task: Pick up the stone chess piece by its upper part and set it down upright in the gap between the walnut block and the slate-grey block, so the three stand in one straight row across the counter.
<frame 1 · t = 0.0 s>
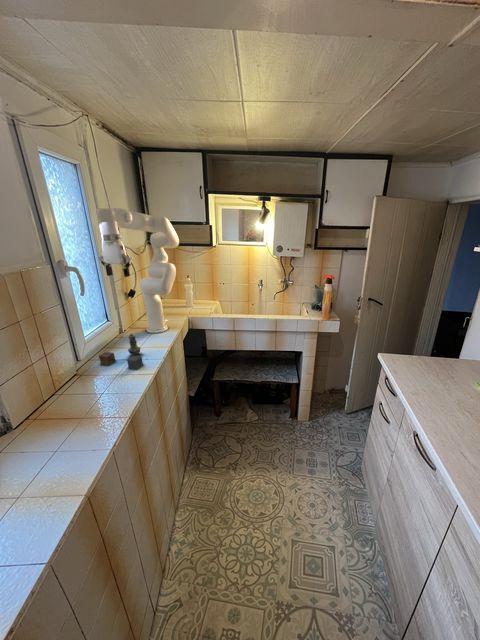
hand: (118, 275, 137), 37 cm above the counter, tool pointing down, fingers open, 9 cm apart
stone chess piece: (135, 355, 141), on the counter
walnut block: (108, 362, 133), on the counter
slate block: (136, 366, 130), on the counter
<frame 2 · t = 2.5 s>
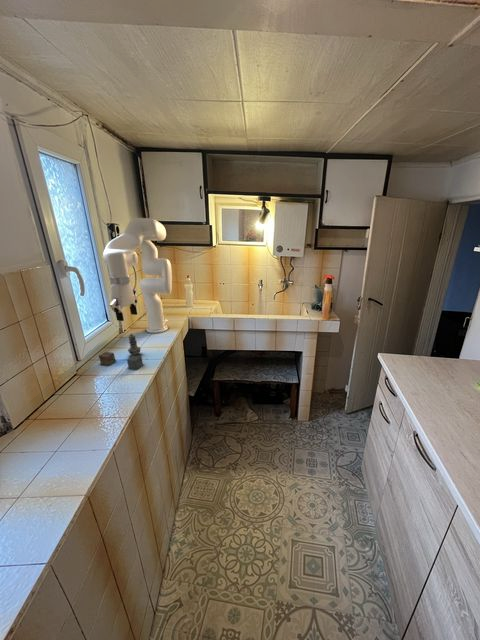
hand: (127, 317, 132), 20 cm above the counter, tool pointing down, fingers open, 9 cm apart
nothing on the counter moved.
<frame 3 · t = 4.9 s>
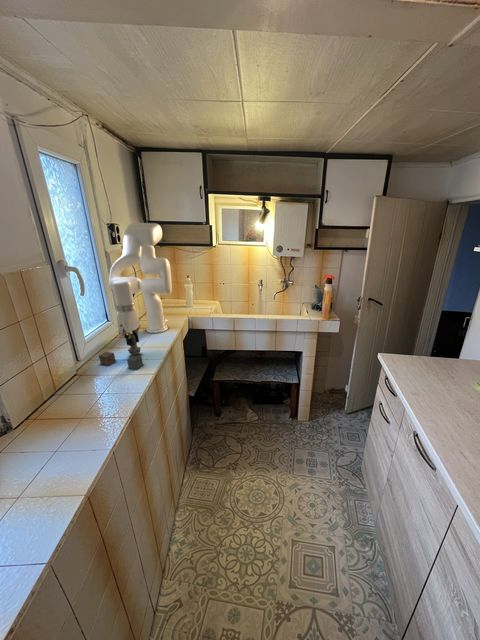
hand: (133, 343, 138), 7 cm above the counter, tool pointing down, fingers closed on stone chess piece, 3 cm apart
stone chess piece: (135, 355, 141), on the counter, touching gripper
everything else where it was.
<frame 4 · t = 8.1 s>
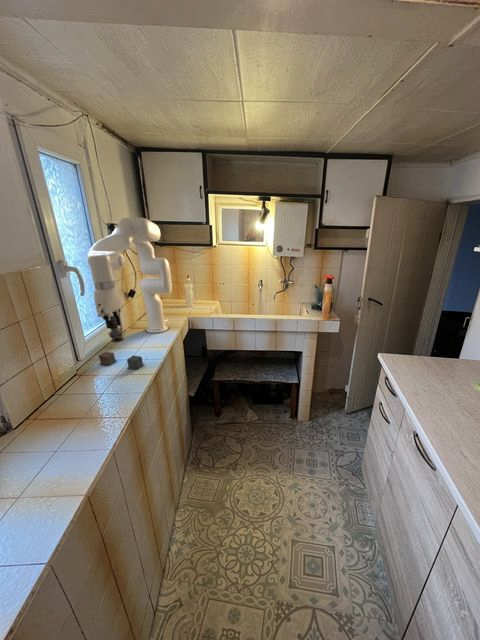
hand: (114, 326, 124), 19 cm above the counter, tool pointing down, fingers closed on stone chess piece, 3 cm apart
stone chess piece: (117, 340, 127), point 12 cm above the counter, touching gripper
everything else where it was.
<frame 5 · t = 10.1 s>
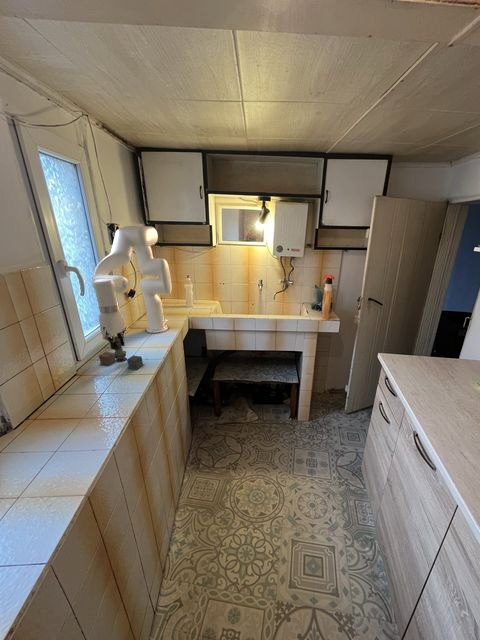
hand: (118, 347, 128), 9 cm above the counter, tool pointing down, fingers closed on stone chess piece, 3 cm apart
stone chess piece: (121, 360, 131), point 2 cm above the counter, touching gripper
everything else where it was.
when the fingers open (7 cm above the counter, at t = 11.2 s): stone chess piece stays where it is, on the counter.
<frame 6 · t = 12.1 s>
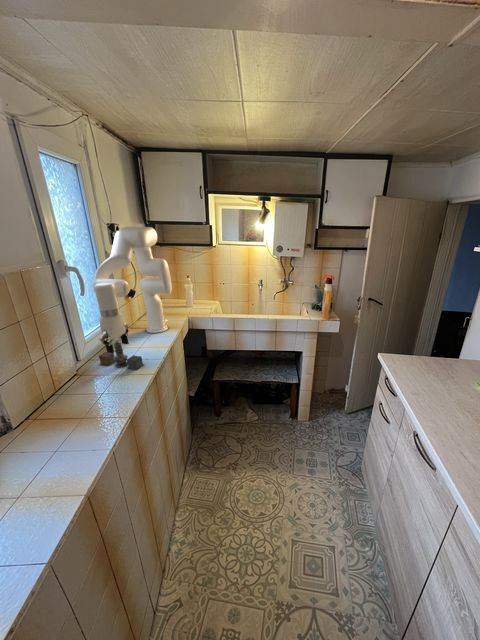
hand: (118, 348, 128), 9 cm above the counter, tool pointing down, fingers open, 9 cm apart
stone chess piece: (122, 364, 132), on the counter
everything else where it was.
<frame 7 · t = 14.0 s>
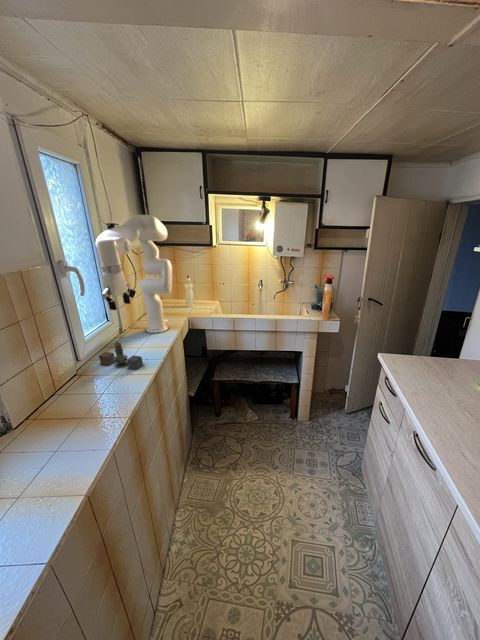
hand: (120, 306, 131), 25 cm above the counter, tool pointing down, fingers open, 9 cm apart
nothing on the counter moved.
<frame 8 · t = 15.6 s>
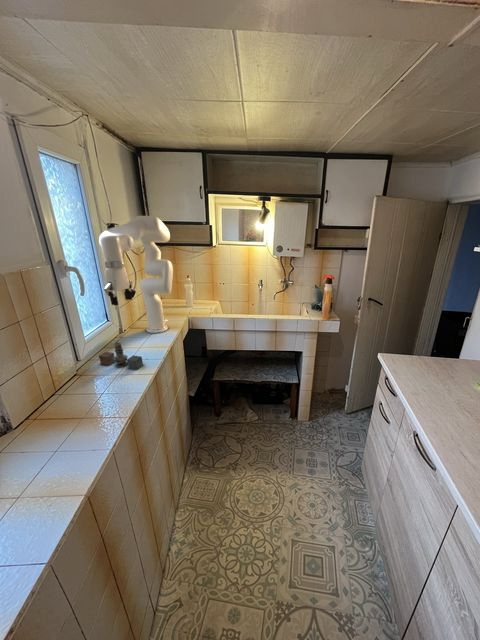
hand: (122, 302, 133), 26 cm above the counter, tool pointing down, fingers open, 9 cm apart
nothing on the counter moved.
at the end: stone chess piece 0.1 cm from the target spot, on the counter; stone chess piece tilted 0°; slate block moved 0.0 cm from its start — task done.
